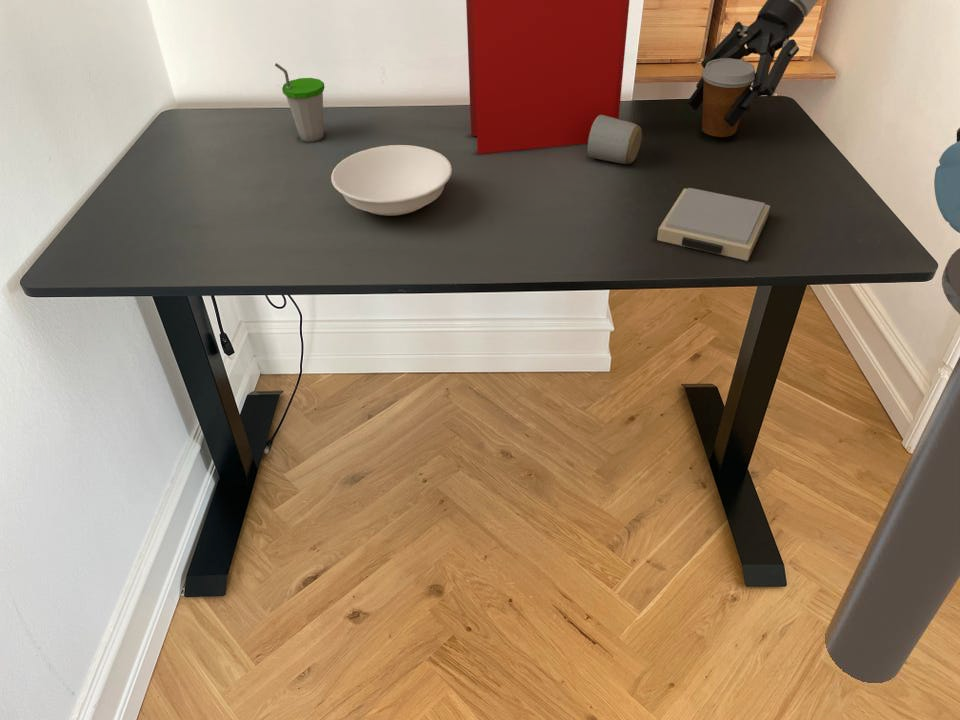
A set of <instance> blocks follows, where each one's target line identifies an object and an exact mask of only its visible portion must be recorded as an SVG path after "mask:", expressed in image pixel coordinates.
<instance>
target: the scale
mask: <svg viewBox="0 0 960 720" xmlns="http://www.w3.org/2000/svg"><path fill="white" fill-rule="evenodd" d="M770 209H771V205H769V204H766V202H763V201H757V200H752V199H748V198H742V197H738V196H734V195H733V196H732V195H727V194H722V193H717V192H713V191H708V190H703V189H699V188H692V187H687V188H686V187H685V188H683V190H682V191H681V193H680V194H679V196H678V197H677V199H676V201H675V202H674V204H673V205H672V207H671V209H670V210H669V211H668V213H667V215H666V216H665V218H664V219H663V220H662V222H661V224H660V226H659V227H658V229H657V230H658V231H657V238H656V239H657V241H660V242H664V243H666V244H667V243H668V244H672V245H676V246H681V247H684V248H689V249H694V250H698V251H702V252H707V253H711V254H716V255H720V256H725V257H728V258H733V259H738V260H742V261H745V262H748V261H749V259H750V257H751V255H752V253H753V250H754V248H755V246H756V244H757V242H758V240H759V238H760V235H761V233H762V231H763V228H764V227H765V224H766V222H767V220H768V217H769V213H770Z"/></svg>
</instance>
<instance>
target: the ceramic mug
mask: <svg viewBox="0 0 960 720" xmlns="http://www.w3.org/2000/svg"><path fill="white" fill-rule="evenodd" d="M642 137H643V130H642V128H641V126H640V125H638V124H636V123H634V122H631V121H627V120H623V119H616V118H612V117H608V116H605V115H599V116H598V117H597V118H596V119H595V121H594V123H593V125H592V127H591V131H590V134H589V139H588V143H587V156H588V157H589V158H590V159H596V160H601V161H605V162H612V163H616V164H621V165H630V164H633V162H634V161H635V160H636V158H637V156H638V154H639V151H640V147H641V144H642Z"/></svg>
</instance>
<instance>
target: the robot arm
mask: <svg viewBox="0 0 960 720" xmlns="http://www.w3.org/2000/svg"><path fill="white" fill-rule="evenodd" d="M818 2H819V0H766V1H765V3H764V4H763V5H762V7H761V8H760V9H759V11H758V13H757V16H756V19H755V21H754V22H752V23H751V24H749V25H745V24H743V23H742V22H740V21H737V22H735V24H734V25H733V27H732V29H731V30H730V32H729V33H728V34H727V35H726V36H725V37H724V38H723V39H722V40H721V41H720V43H718V44H717V45H716V47H714V49H713V50H712V51H710V53H709V54H708V55H707V56H706V57H705V58H704V59H703V60H702V61H701V63H700V64H701V67H702V68H703V70H704V69H705V66H706V64H707V63H708V62H709V61H712V60H715V59H723V58H731V59H739V60H742V59H743V58H744V57H748V56H750V55H751V54H753V55H759V58H758V63H757V67H756V69H755V73H756V74H755V79H754V81H753V83H752V84H751V87H750V88H748V87H747V88H746V89H745V91H744V92H743V93H742V95H741V96H740V97H739V99H738V100H737V101H736V103H735V104H734V106H733V107H732V108H731V110H730V111H729V112H728V114H727V115H726V116H725V118H724V119H725V120H726V121H727V122H728V124H729V125H730V126H732V127H733V126H734V125H735V124H736V122H737V121H738V120H739V118H740V117H741V118H742V116H743V114H744V113H745V112H746V111H747V112H748V111H750V110H751V109H752V107H753V106H754V105H755V103H756V102H757V101H758V99H759V98H760V97H762V96H767V97H772V96H774V94H775V92H776V90H777V88H778V86H779V84H780V82H781V80H782V78H783V76H784V74H785V72H786V70H787V68H788V67H789V64H790V62H791V61H792V59H793V58H794V57H795V56H796V54H798V52H799V51H800V47H799V46H798V44H797V42H796V40H795V39H793V38H792V37H793V36H794V35H795V34H796V32H797V31H798V30H799V28H800V26H801V25H802V24H803V23H804V21H805V18H807V16H809V14H810V13H811V11H812V10H813V8H814V7H815V6H816V5H817V3H818ZM790 38H791V39H790ZM779 50H780V51H779ZM777 51H779V53H778V54H777V56H776V59H775V55H776V52H777ZM774 59H775V60H774ZM773 62H774V63H773ZM771 66H772V67H771ZM695 87H696V89H695V90H694V92H693V93H692V95H691V96H690V97H689V99H688V100H687V101H686V103H688V105H689V106H690V108H692V110H693V111H697V110H698V108H699V107H700V106H701V104H703V87H704V79H703V76H702V75H701V78H700V79H699V81H698V82H697V83H696V86H695ZM741 118H740V119H741ZM938 164H939V165H938V166H937V167H936V168H935V172H934V179H933V181H934V182H933V183H934V185H933V186H934V187H933V188H934V195H935V200H936V204H937V207H938V210H939V212H940V214H941V216H942V218H943V219H944V221H945V222H947V223H948V225H949V226H950V227H951V228H952V229H953V230H954V231H955V232H957V233H959V234H960V127H959V128H958V129H957V130H956V142H955V143H953V144H951V145H949V146H948V147H947V148H946V149H945V150H944V151H943V152H942V154H941V155H940V157H939V160H938Z"/></svg>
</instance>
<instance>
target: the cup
mask: <svg viewBox="0 0 960 720" xmlns="http://www.w3.org/2000/svg"><path fill="white" fill-rule="evenodd" d="M274 67H276V68H278V70H280V71H281V72H283V74H284V77H285V83H283V85H282V87H281V90H282V95H284V96H285V98H286V100H287V103H288V105H289V108H290V111H291V114H292V118H293V120H294V124H295V126H296V130H297V132H298V135H299V139H300V140H301V141H302V142H305V143H314V142H318V141H321V140H323V139H324V136H325V127H324V126H325V125H324V123H325V122H324V97H323V96H324V91H325V83H324V81H322V80H321V79H319V78H314V77H300V78H295V79H292V80H290V77H289V74H288V73H289V72H288V70H287V69H285V68H284V67H282V66H281V65H280V64H278V63H277V62H276V63H275V64H274Z"/></svg>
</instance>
